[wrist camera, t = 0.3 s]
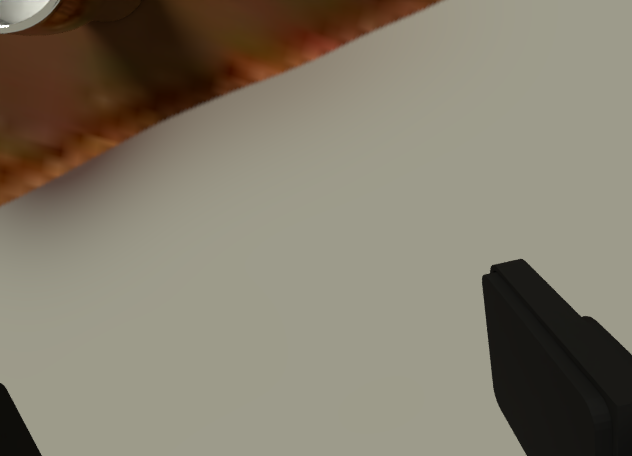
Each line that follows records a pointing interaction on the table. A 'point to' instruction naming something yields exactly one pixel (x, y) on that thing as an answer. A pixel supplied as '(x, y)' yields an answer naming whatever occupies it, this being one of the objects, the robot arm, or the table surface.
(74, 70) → the table surface
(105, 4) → the beer glass
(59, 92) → the table surface
